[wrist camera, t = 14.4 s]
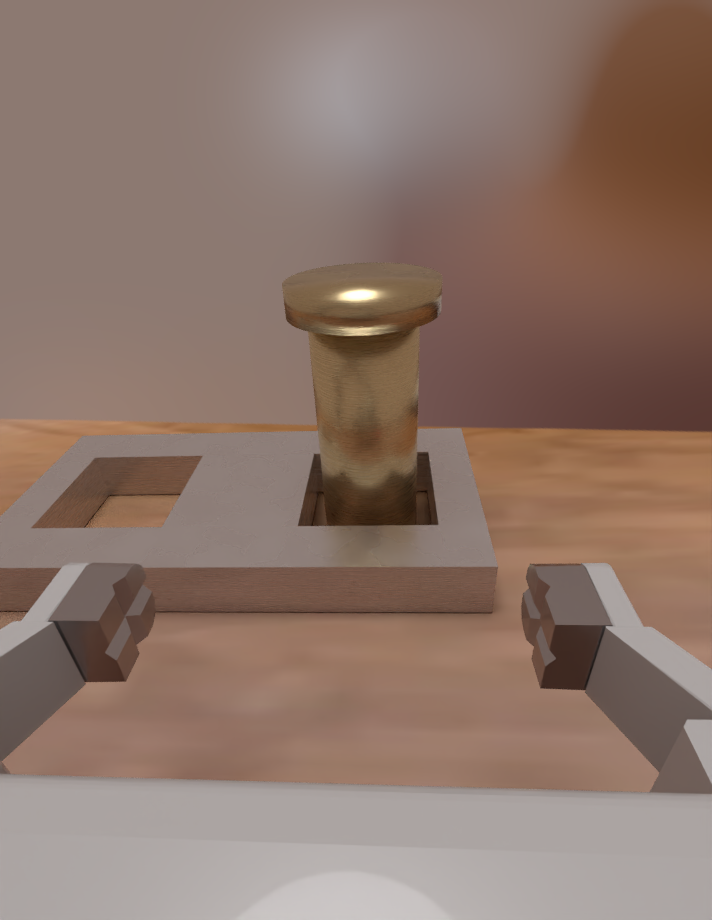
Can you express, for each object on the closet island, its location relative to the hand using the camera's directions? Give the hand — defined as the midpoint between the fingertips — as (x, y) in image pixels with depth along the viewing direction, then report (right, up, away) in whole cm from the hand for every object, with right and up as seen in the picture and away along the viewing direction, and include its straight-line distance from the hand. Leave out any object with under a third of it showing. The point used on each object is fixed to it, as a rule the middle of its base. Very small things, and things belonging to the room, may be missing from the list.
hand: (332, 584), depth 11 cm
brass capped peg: (+1, -1, +15) cm, 15 cm away
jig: (-5, -1, +15) cm, 16 cm away
